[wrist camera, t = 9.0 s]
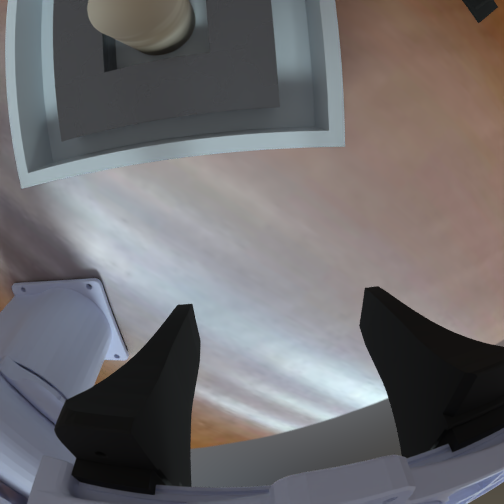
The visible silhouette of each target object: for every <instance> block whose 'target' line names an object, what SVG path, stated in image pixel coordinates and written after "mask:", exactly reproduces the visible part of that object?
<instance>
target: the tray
mask: <svg viewBox="0 0 504 504" xmlns="http://www.w3.org/2000/svg"><path fill="white" fill-rule="evenodd" d="M189 2H190V4H191V6H192V8H193V10H194V13H195V17H196V22H195V28H194V30H193V33H192V35H191V36H190V38H189V39H188V40H187V41H186V42H185V44H183V45H182V46H181V47H180V48H178V49H177V50H175V51H173V52H170V53H167V54H164V55H148V54H144V53H142V52H140V51H138V50H136V49H134V48H132V47H130V46H128V45H126V44H124V43H122V42H120V41H118V40H116V39H115V44H116V60H117V69H120V68H124V67H128V66H132V65H137V64H141V63H146V62H151V61H156V60H161V59H166V58H172V57H178V56H184V55H191V54H198V53H206V52H210V47H209V34H208V21H207V7H206V0H189ZM53 3H54V0H8V7H7V19H6V44H5V62H6V87H7V101H8V112H9V121H10V129H11V136H12V142H13V149H14V155H15V160H16V165H17V171H18V175H19V180H20V185H21V189H23V188H27V187H31V186H35V185H39V184H43V183H47V182H51V181H55V180H59V179H64V178H68V177H73V176H77V175H82V174H87V173H92V172H97V171H102V170H107V169H112V168H118V167H123V166H129V165H135V164H141V163H148V162H154V161H161V160H168V159H175V158H183V157H191V156H199V155H208V154H218V153H228V152H239V151H251V150H265V149H282V148H303V147H345V124H344V98H343V80H342V65H341V52H340V41H339V31H338V21H337V13H336V4H335V0H271V6H272V16H273V27H274V38H275V50H276V62H277V75H278V88H279V102H280V107H276V108H258V109H244V110H232V111H222V112H212V113H204V114H195V115H188V116H181V117H174V118H167V119H161V120H155V121H150V122H144V123H139V124H133V125H128V126H124V127H119V128H114V129H110V130H105V131H101V132H97V133H92V134H88V135H84V136H81V137H77V138H73V139H69V140H66V141H61V134H60V127H59V119H58V111H57V102H56V91H55V79H54V61H53Z"/></svg>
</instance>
